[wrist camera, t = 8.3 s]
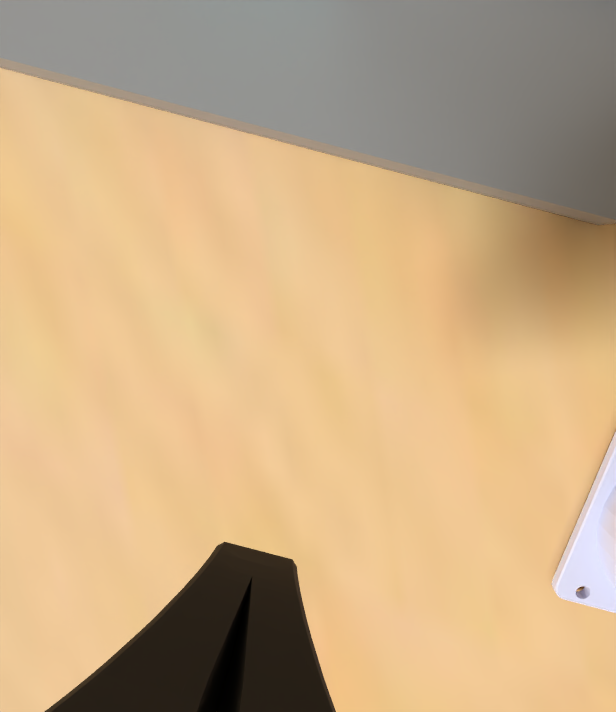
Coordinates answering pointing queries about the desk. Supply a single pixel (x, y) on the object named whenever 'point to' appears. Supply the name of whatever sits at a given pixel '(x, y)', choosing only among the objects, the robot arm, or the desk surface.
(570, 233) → the desk surface
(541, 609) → the desk surface
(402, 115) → the board
